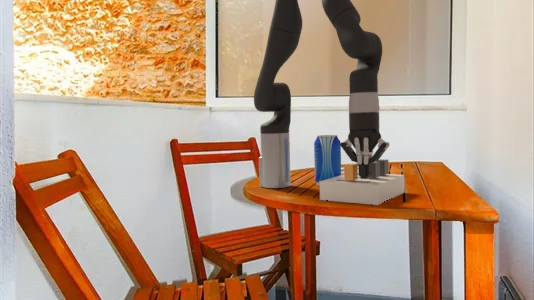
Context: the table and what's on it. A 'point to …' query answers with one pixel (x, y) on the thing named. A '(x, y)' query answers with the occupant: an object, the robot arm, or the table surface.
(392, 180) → the breaker panel
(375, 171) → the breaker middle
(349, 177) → the block
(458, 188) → the table surface
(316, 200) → the table surface
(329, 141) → the beer can
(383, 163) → the block
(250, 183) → the table surface
